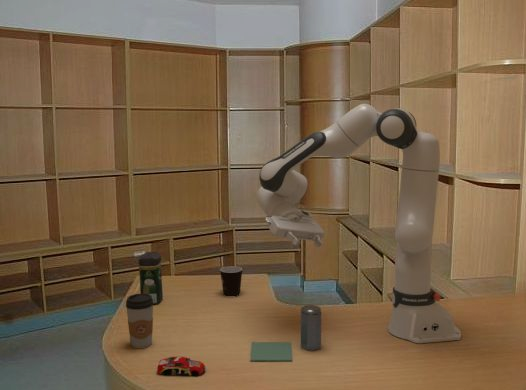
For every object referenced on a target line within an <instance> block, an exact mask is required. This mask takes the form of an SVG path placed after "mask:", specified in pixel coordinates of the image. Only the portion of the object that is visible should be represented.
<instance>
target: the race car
mask: <svg viewBox="0 0 526 390" xmlns="http://www.w3.org/2000/svg"><path fill="white" fill-rule="evenodd" d="M156 369H157V370H156V371H157V374H160V375H163V376H165V377H166V376H168V377H169V376H187V377H189V376H192V377H198V376H201V375H202V374H204V373H205V372H206V365H205V364H204V363H203V362H202V361H200V360H193V359H190V357H189V358H188V357H186V356H170V357H167V358H163V359H160V361H159V362H158V365H157V368H156Z"/></svg>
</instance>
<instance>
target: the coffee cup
mask: <svg viewBox="0 0 526 390" xmlns="http://www.w3.org/2000/svg"><path fill="white" fill-rule="evenodd" d="M154 305H155V304H154V303H153V299H152V296H151V295H149V294H140V293H134V294H132V295H129V296H128V297H127V299H126V300H125V308H126V314H127V316H126V317H127V326H128V335H129V340H130V345H131V347H133V348H135V349H143V348H144V349H145V348H147V347H150V346H151V345H152V342H153V331H154V329H153V327H154V326H153V325H154V317H153V315H154Z"/></svg>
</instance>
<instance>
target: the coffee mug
mask: <svg viewBox="0 0 526 390" xmlns="http://www.w3.org/2000/svg"><path fill="white" fill-rule="evenodd" d="M219 271H220V279H221V286H222V295H223V296H224V295H225V296H224V297H227V296H235V297H238V296H240V295H241V294H240V293H241V287H242V286H241V284H242V279H243V278H242V276H243V268H242V267H240V266H235V265H233V266H232V265H229V266H223V267H221V268H220V269H219ZM239 294H240V295H239ZM237 295H238V296H237Z"/></svg>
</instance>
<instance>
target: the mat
mask: <svg viewBox="0 0 526 390" xmlns="http://www.w3.org/2000/svg"><path fill="white" fill-rule="evenodd" d="M291 343H292V342H291V341H278V342H277V341H276V342H275V341H270V342H269V341H260V342H259V341H252V342H251V346H250V347H251V348H250V357H249V358H250V360H249V362H250V363H251V362H252V363H253V362H255V363H256V362H258V363H260V362H262V363H263V362H264V363H265V362H267V363H268V362H269V363H271V362H272V363H273V362H274V363H275V362H278V363H280V362H282V363H283V362H287V363H288V362H289V363H291V362H293V353H292V352H293V351H292V344H291Z"/></svg>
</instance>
